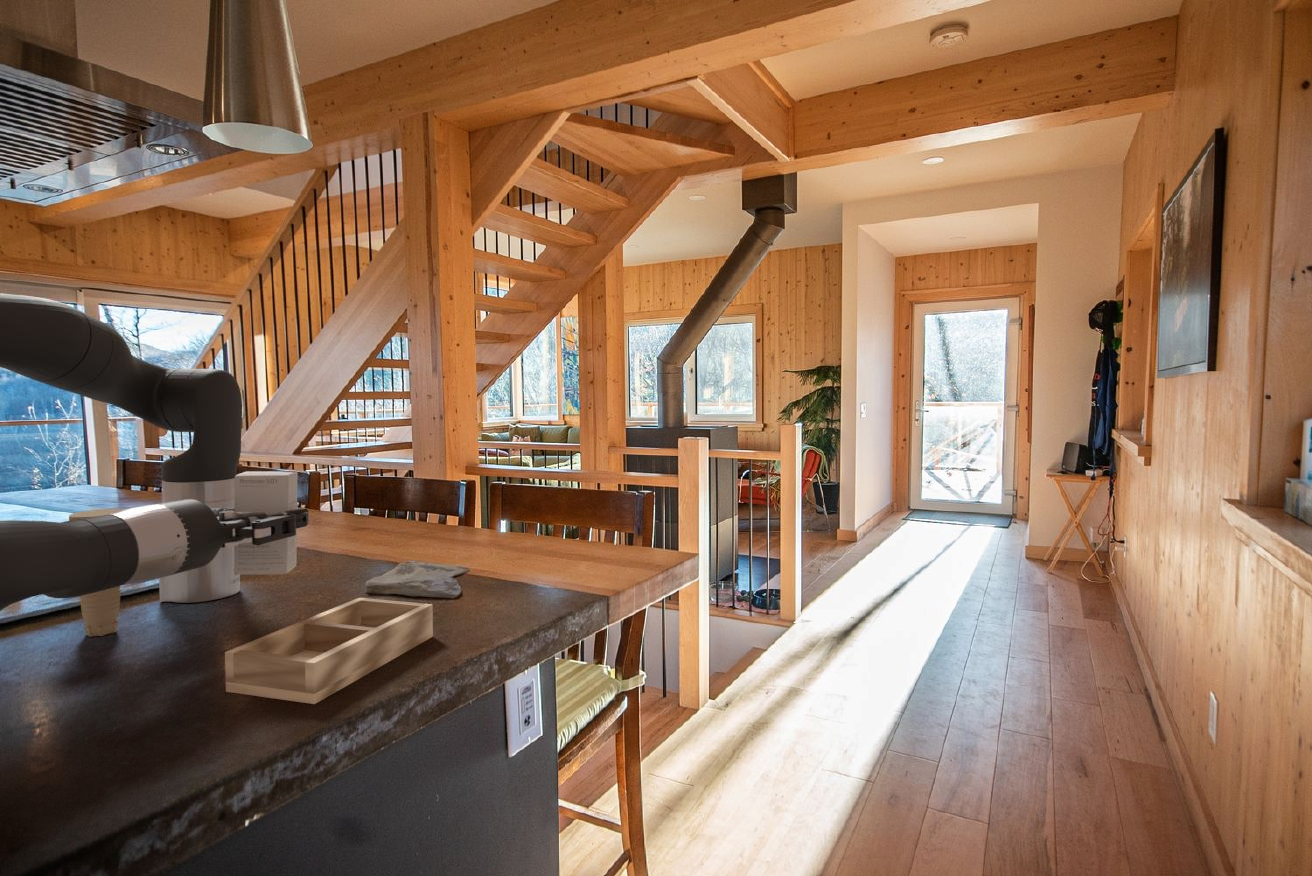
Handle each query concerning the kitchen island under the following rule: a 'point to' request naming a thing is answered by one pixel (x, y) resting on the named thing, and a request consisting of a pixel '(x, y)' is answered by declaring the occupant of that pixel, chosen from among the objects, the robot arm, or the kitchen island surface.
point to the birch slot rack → (327, 650)
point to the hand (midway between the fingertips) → (280, 515)
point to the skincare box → (270, 497)
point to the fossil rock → (418, 580)
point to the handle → (99, 596)
